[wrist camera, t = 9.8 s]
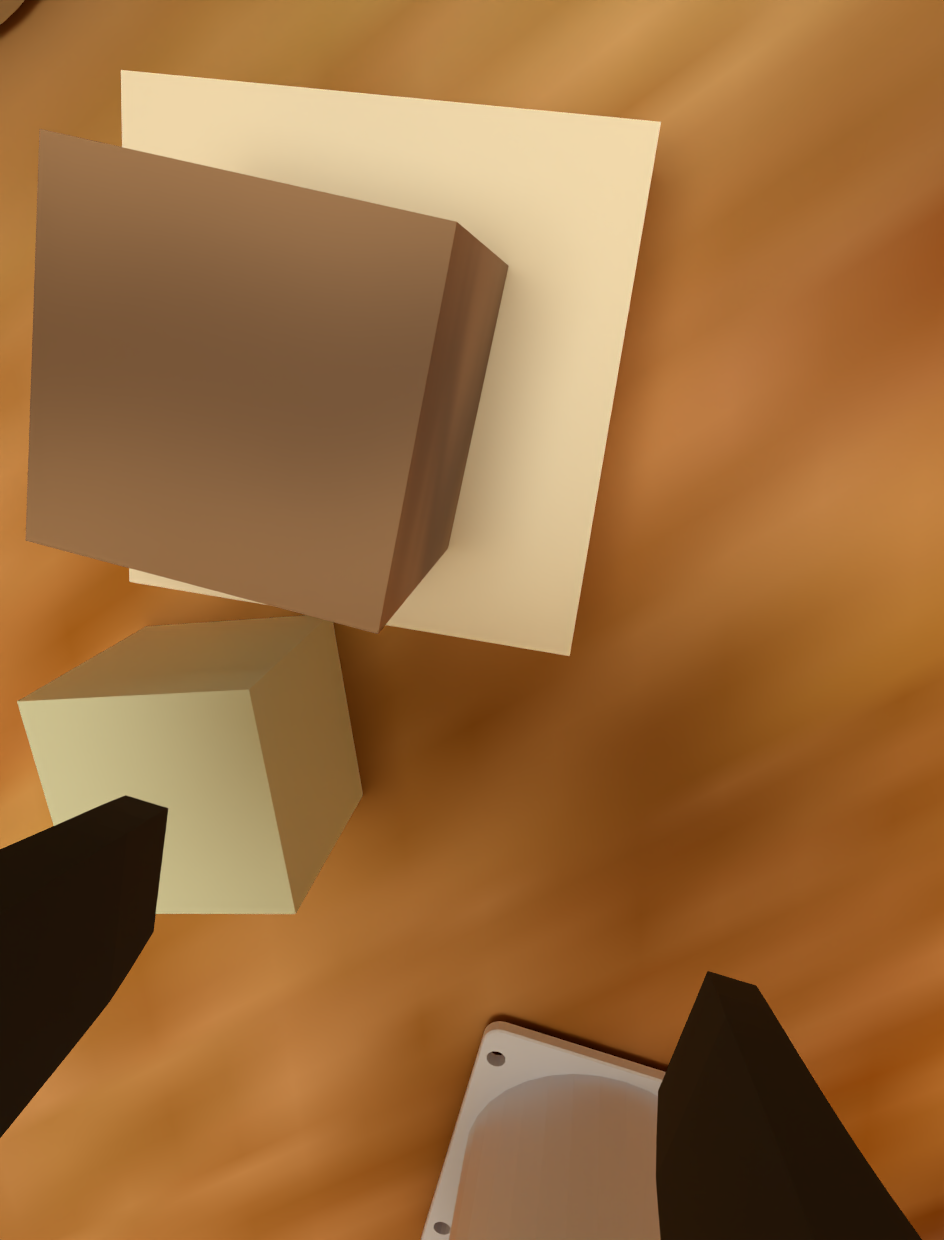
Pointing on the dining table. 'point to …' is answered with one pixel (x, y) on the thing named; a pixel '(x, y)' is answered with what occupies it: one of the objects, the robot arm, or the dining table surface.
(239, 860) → the sage block
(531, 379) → the base block
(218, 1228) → the dining table surface
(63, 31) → the dining table surface
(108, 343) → the walnut block
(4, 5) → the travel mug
